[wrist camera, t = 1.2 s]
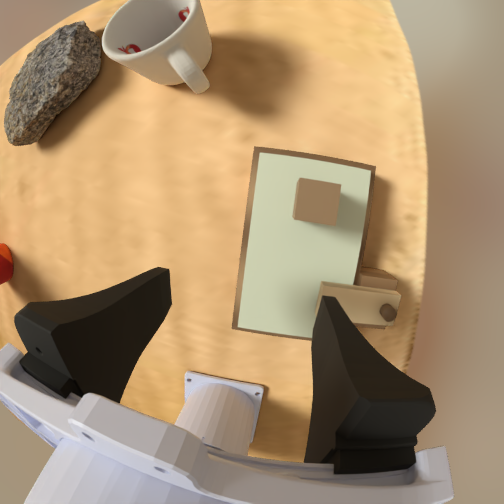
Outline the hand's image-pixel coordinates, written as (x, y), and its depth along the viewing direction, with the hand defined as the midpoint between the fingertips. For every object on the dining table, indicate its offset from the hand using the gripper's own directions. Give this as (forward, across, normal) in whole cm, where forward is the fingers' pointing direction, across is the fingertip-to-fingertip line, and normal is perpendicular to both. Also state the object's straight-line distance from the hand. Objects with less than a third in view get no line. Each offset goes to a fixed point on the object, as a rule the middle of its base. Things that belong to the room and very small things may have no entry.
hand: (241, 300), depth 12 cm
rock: (+14, +27, -14) cm, 34 cm away
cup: (+14, +9, -13) cm, 22 cm away
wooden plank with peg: (+7, -7, +3) cm, 11 cm away
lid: (+8, -3, +1) cm, 9 cm away
